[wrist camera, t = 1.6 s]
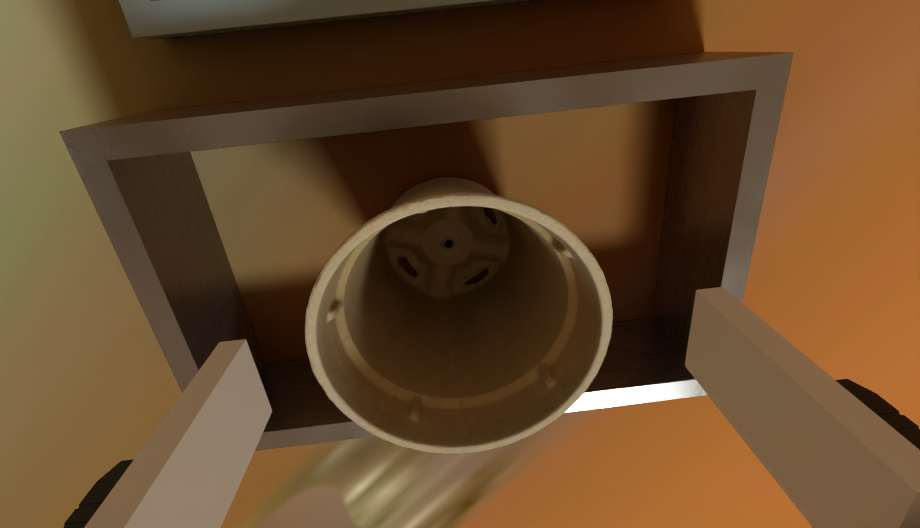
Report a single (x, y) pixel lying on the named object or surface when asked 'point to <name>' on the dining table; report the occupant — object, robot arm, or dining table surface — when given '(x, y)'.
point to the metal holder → (429, 103)
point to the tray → (264, 13)
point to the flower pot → (458, 320)
